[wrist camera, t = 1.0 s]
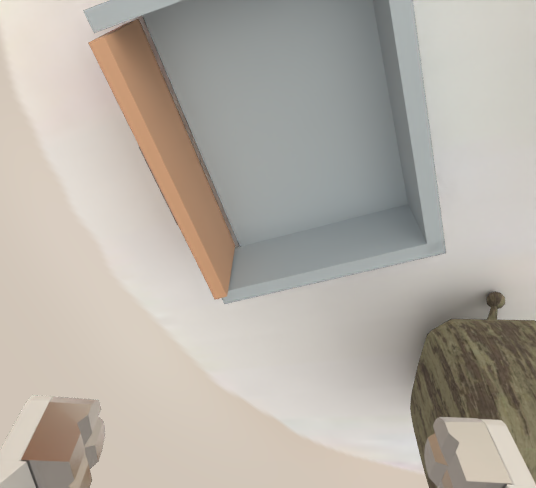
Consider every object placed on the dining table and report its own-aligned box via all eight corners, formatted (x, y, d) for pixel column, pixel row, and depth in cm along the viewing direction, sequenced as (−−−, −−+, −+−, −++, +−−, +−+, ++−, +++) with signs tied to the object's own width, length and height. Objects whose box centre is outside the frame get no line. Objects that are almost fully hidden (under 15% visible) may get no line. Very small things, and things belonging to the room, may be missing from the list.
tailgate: (138, 18, 31) (104, 36, 25) (235, 245, 41) (227, 296, 35) (119, 25, 31) (81, 45, 25) (220, 249, 41) (209, 300, 35)
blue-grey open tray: (373, -100, 28) (397, -111, 22) (421, 205, 39) (446, 253, 33) (121, -3, 31) (83, 10, 25) (232, 253, 43) (224, 304, 37)
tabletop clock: (478, 381, 51) (612, 683, 30) (396, 380, 51) (474, 678, 31) (516, 278, 43) (734, 591, 22) (419, 277, 44) (546, 585, 23)
